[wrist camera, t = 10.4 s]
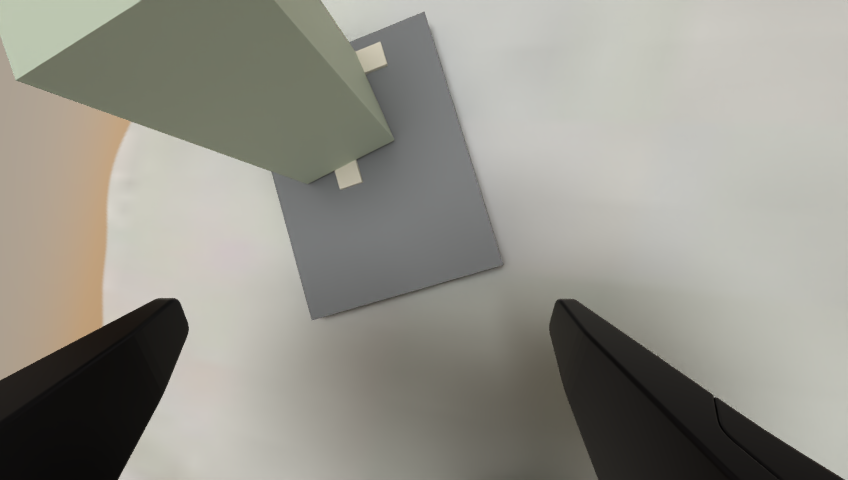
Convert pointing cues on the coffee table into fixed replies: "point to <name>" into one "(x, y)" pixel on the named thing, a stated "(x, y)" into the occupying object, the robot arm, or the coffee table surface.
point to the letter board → (392, 190)
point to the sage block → (208, 74)
